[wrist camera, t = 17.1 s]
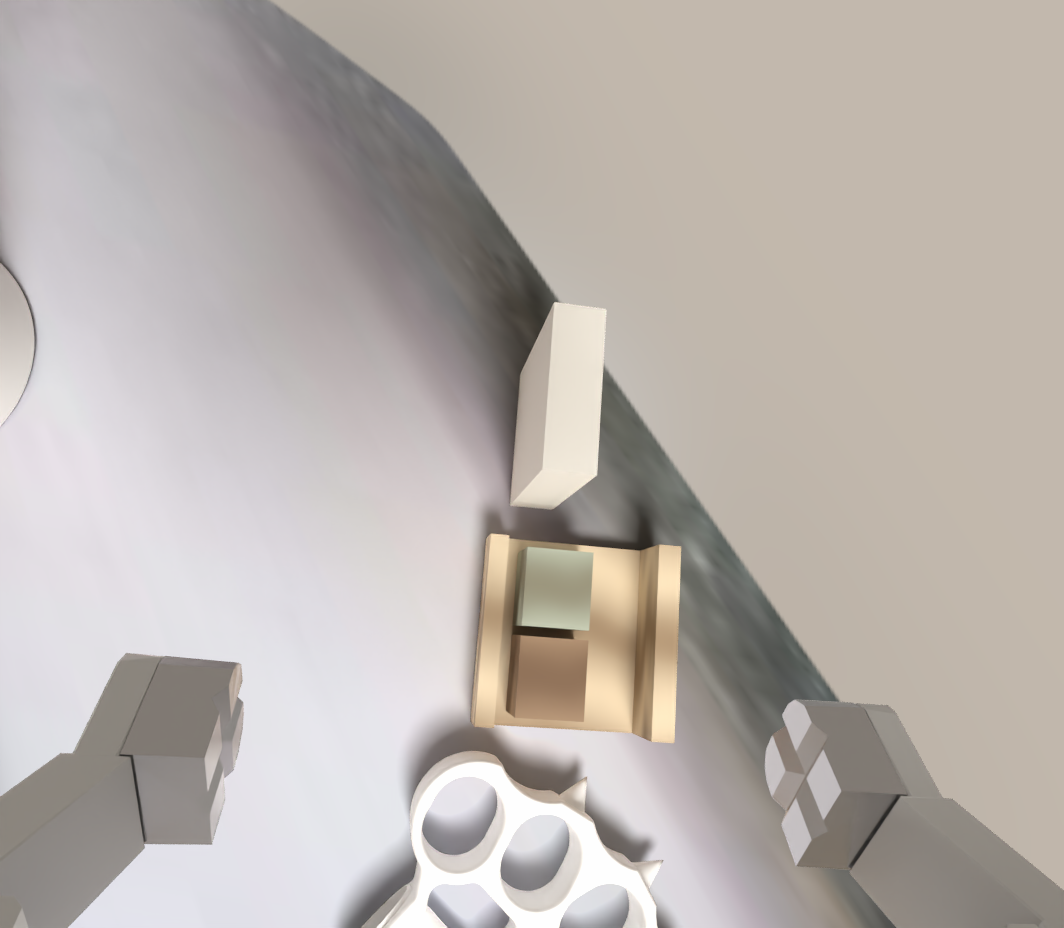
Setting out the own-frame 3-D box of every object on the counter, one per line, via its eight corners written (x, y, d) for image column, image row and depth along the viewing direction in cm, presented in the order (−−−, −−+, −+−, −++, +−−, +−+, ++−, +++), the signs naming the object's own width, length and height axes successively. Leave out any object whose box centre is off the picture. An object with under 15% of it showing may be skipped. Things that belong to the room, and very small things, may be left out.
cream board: (552, 509, 47) (597, 475, 36) (509, 505, 47) (542, 469, 36) (561, 378, 49) (606, 309, 38) (520, 374, 48) (554, 302, 38)
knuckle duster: (299, 897, 41) (506, 690, 45) (539, 1165, 41) (729, 933, 44) (291, 921, 38) (515, 695, 42) (551, 1212, 37) (755, 957, 41)
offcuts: (569, 714, 44) (583, 722, 40) (505, 710, 43) (515, 717, 40) (579, 558, 46) (593, 552, 42) (518, 552, 45) (527, 546, 42)
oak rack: (647, 732, 45) (674, 743, 41) (470, 721, 44) (478, 731, 39) (655, 554, 47) (680, 546, 43) (486, 538, 46) (495, 529, 42)
